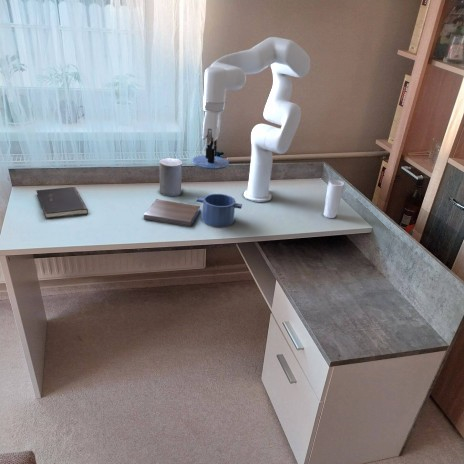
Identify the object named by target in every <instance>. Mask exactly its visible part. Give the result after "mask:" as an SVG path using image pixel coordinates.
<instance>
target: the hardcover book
mask: <svg viewBox="0 0 464 464" xmlns="http://www.w3.org/2000/svg"><path fill="white" fill-rule="evenodd" d="M35 192H36V196H37V199H38V202H39V205H40V208H41V210H42V213H43V215H44V217H45V219H46V220H47V219H57V218H64V217H65V218H66V217H72V216H73V217H74V216H82V215H88V214H89V209H88V208H87V206H86V204H85V202H84V200H83V198H82V197H81V195H80V193H79V191H78V190H77V187H75V186H69V187H67V186H66V187H56V188H45V189H36V190H35Z"/></svg>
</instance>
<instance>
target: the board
mask: <svg viewBox="0 0 464 464" xmlns="http://www.w3.org/2000/svg"><path fill="white" fill-rule="evenodd" d="M200 212H201V206H200V205H196V204H190V203H183V202H177V201H171V200H163V199H160V198H159V199H158V198H156V199H155V200H154V202H152V204H151V205H150V206H149V207H148V209H146V211H145V212H144V213H143V220H148V221H154V222H160V223H167V224H172V225H178V226H185V227H191V226H192V224H193V223H194V222H195V221H196V220H195V219H196V218H197V216H198V215H199V213H200Z"/></svg>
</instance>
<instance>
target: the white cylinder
mask: <svg viewBox="0 0 464 464" xmlns="http://www.w3.org/2000/svg"><path fill="white" fill-rule="evenodd" d="M344 190H345V182H344V181H342V180H339V179H329V181H328V182H327V187H326V193H325V202H324V209H323V216H324V217H325V218H328V219H334V218H336V217H337V212H338V209H339V206H340V203H341V200H342V197H343V194H344Z"/></svg>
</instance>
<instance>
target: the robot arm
mask: <svg viewBox="0 0 464 464" xmlns="http://www.w3.org/2000/svg"><path fill="white" fill-rule="evenodd" d="M269 67H270V70H271V73H272V80H273V81H272V87H271V90H270V93H269V96H268V98H267V100H266V103H265V105H264V109H263V113H262V114H263V119H264V120H265V121H266V122H269V123H272V124H275V125H279V126H281V127H276V126H274V125H270V124H266V123H258V124H256V125H255V126H254V127H253V128H252V130H251V133H250V142H251V154H250V166H249V176H248V184H247V189H246V190H245V191H244V192H243V197H244V198H245V199H246V200H248V201H252V202H258V203H265V202H268V201H270V200H271V199H272V193H271V192H270V185H271V178H272V170H273V169H272V168H273V162H274V157H273V156H274V155H273V153H276V154H280V155H283V154H285V153H287V151H288V150H289V149H290V147H291V144H292V142H293V140H294V137H295V135H296V133H297V130H298V127H299V124H300V122H301V118H302V110H301V107H300V105H298V104H297V103H295V102H291V101H290V100H291V97H292V94H293V91H294V89H293V88H294V87H293V86H294V85H293V82H292V81H293V80H292V78H291V77H294V78H299V79H300V78H301V79H302V78H304V77H306V76H307V75H308V73H309V72H310V70H311V58H310V56H309V55H308V54H307V52H306V51H305V50H304V49H303V48H302V47H301V46H300V45H299V44H298V43H297V42H295V41H294V40H292V39H289V38H283V37H277V36H269V37H267V38H265V39H264V40H262V41H261V42H259V43H257V44H256V45H254V46H252V47H251V48H249V49H246V50H240V51H236V52H233V53H228V54H225V55H223V56H221V57H220V58H218V59H216V60H215V61H213V62H212V63H211V65H210V66H208V67H206V69H205V71H204V84H203V85H204V87H203V103H202V104H203V107H202V110H203V111H204V116H203V127H202V140H203V141H205V140H206V146H205V156H206V159H212V160H214V154H215V157H216V156H217V149H218V146H217V145H218V138H219V136H220V133H221V125H222V113H224V112H225V105H226V95H227V93H226V92H227V91H238V90H241V89H243V87H245V85H246V82H247V75H255V74H260V73H261V72H262V71H263V70H265V69H267V68H269ZM214 147H215V149H214Z"/></svg>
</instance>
